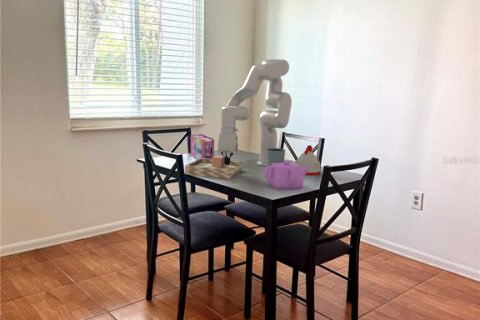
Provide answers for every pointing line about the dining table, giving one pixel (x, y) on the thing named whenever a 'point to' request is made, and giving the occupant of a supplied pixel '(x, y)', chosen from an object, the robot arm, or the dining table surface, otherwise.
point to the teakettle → (285, 175)
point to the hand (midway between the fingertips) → (227, 164)
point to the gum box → (202, 147)
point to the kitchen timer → (309, 161)
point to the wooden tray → (212, 169)
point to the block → (217, 161)
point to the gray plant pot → (275, 155)
